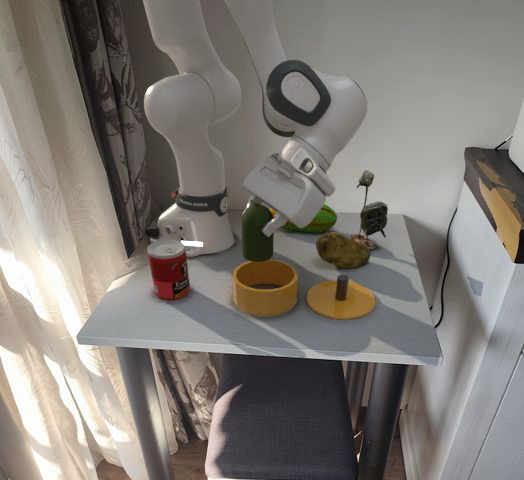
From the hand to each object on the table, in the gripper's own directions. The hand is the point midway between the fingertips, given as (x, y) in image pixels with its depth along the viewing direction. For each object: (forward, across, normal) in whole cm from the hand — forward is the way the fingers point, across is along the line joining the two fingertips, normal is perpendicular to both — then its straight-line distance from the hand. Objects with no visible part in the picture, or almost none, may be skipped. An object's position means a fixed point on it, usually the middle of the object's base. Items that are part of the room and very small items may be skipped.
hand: (254, 226), depth 89 cm
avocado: (+4, 0, +5) cm, 6 cm away
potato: (-6, -5, +31) cm, 32 cm away
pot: (+11, 0, +14) cm, 18 cm away
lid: (+1, +9, +23) cm, 25 cm away
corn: (-7, -27, +33) cm, 43 cm away
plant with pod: (-14, -10, +39) cm, 42 cm away
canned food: (+23, -13, +3) cm, 26 cm away
